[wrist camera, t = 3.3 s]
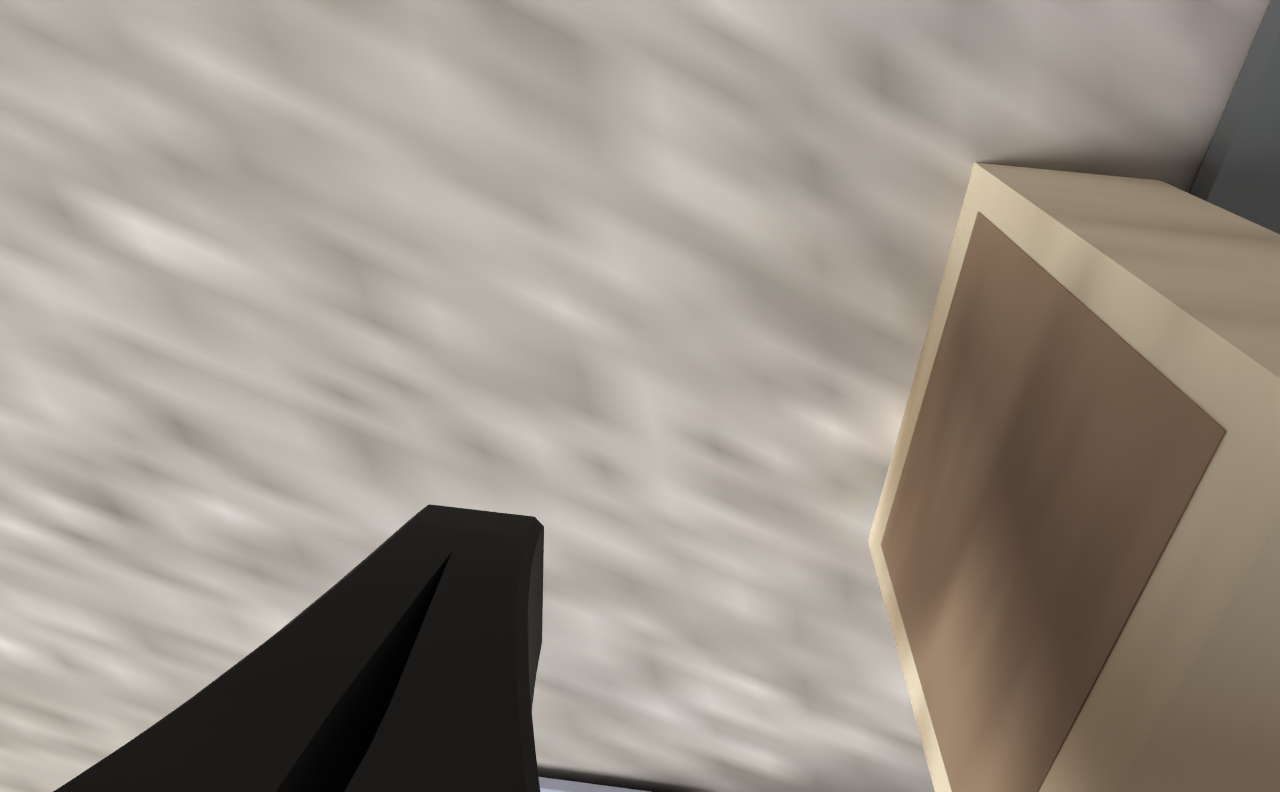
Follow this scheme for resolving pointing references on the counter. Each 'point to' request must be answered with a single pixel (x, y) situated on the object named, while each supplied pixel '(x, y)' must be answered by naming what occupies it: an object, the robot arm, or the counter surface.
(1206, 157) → the mat
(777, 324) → the counter surface
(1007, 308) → the maple slab
